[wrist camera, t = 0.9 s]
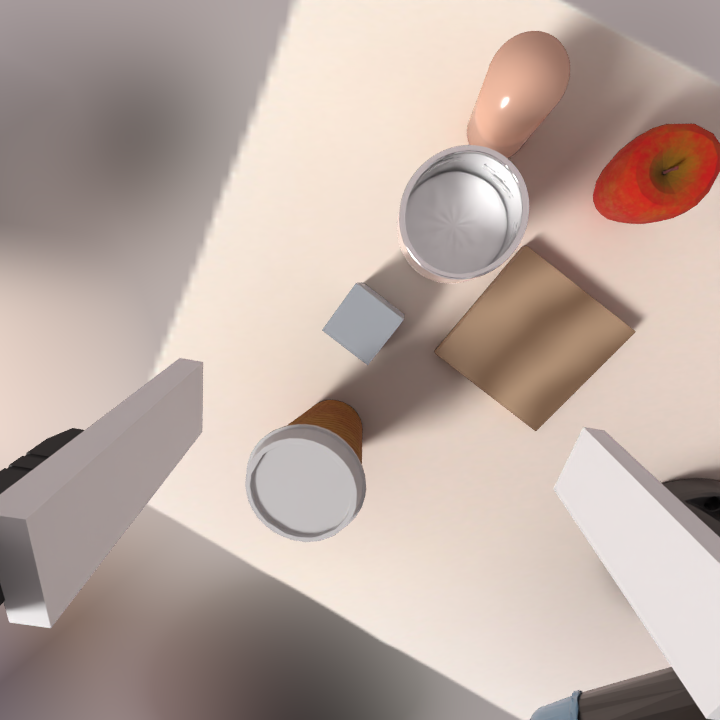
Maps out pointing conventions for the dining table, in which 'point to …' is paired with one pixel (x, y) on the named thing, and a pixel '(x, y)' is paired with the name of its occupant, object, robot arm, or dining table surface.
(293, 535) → the disposable coffee cup
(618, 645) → the dining table surface
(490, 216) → the steel tumbler
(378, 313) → the slate block
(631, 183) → the apple
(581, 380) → the walnut board
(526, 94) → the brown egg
